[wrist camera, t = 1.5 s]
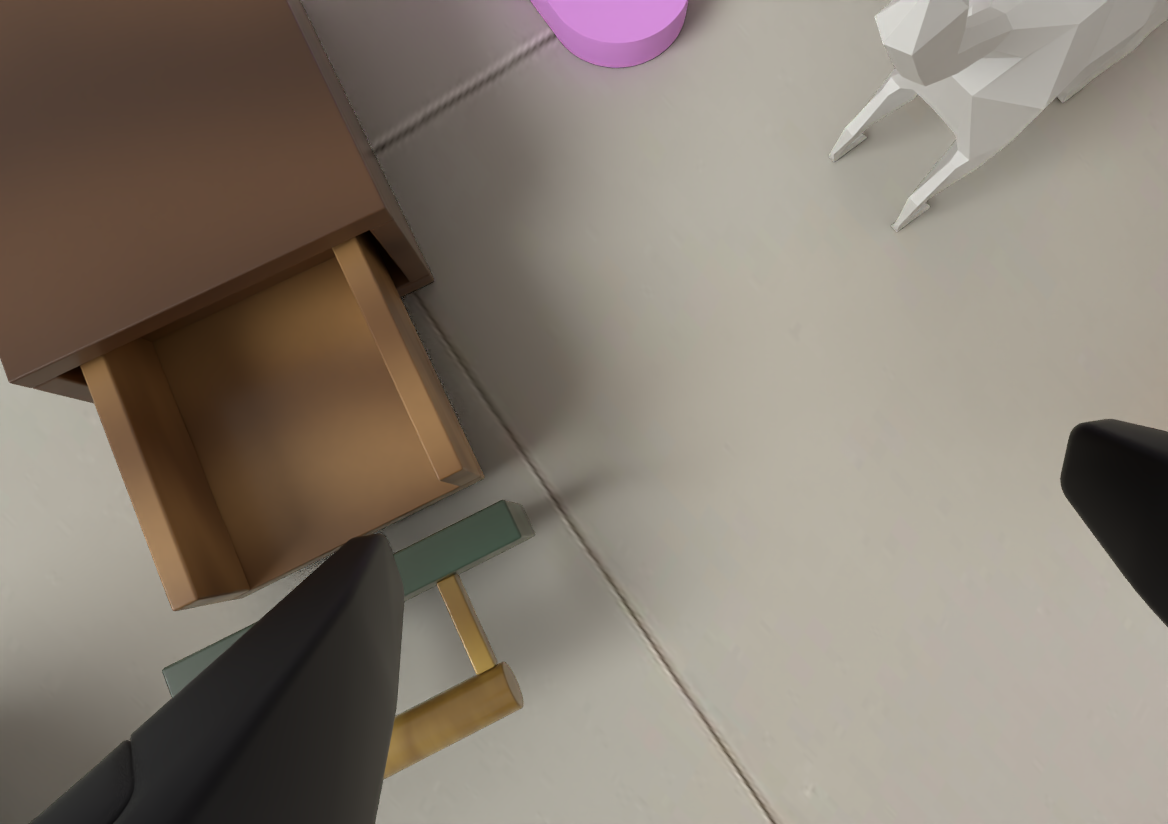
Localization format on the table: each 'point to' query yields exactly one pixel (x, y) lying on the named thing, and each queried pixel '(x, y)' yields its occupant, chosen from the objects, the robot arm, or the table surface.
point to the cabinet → (168, 170)
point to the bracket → (614, 28)
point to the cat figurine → (993, 69)
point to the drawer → (304, 460)
